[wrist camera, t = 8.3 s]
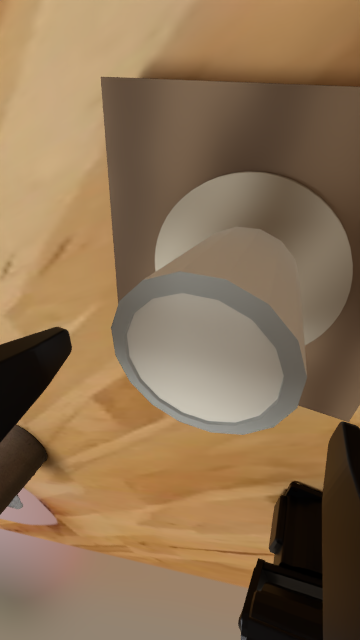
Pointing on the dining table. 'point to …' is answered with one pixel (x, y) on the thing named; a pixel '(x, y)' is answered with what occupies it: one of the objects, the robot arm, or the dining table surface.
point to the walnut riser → (247, 196)
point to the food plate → (16, 503)
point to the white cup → (218, 334)
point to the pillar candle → (18, 463)
